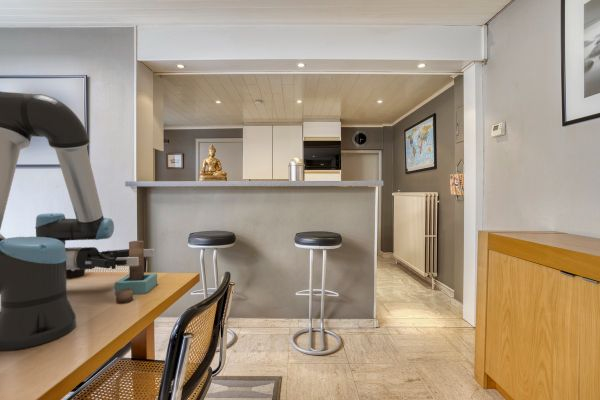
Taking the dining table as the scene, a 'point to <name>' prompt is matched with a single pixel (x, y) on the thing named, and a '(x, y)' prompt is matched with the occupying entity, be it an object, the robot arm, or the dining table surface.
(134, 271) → the long pin
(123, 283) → the hole block
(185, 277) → the dining table surface
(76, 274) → the coffee mug
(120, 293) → the brown rounded block
